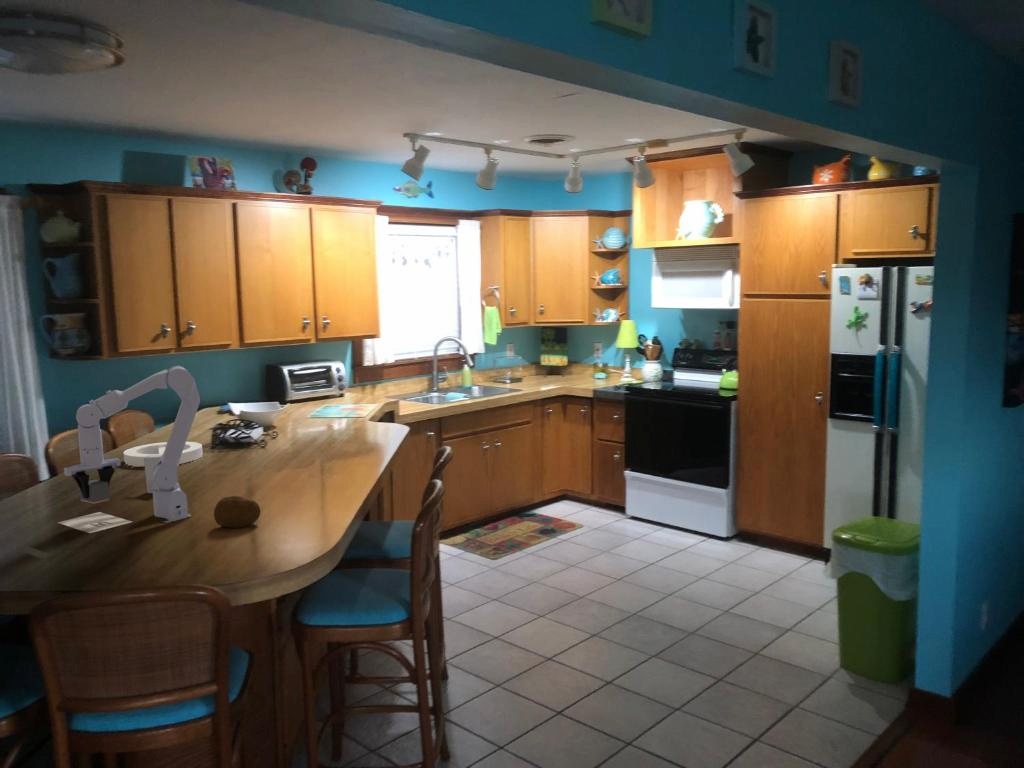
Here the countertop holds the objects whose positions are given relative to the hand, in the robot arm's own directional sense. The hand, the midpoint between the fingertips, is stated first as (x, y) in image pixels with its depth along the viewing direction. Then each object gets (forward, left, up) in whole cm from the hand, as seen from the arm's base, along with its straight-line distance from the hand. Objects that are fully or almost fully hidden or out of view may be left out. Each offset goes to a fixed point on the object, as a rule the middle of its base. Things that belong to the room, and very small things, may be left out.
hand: (95, 495), depth 219 cm
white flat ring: (+66, -60, -10) cm, 89 cm away
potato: (-33, -21, -9) cm, 41 cm away
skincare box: (+22, -31, -9) cm, 39 cm away
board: (+2, 0, -9) cm, 9 cm away
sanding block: (0, 0, -1) cm, 1 cm away
